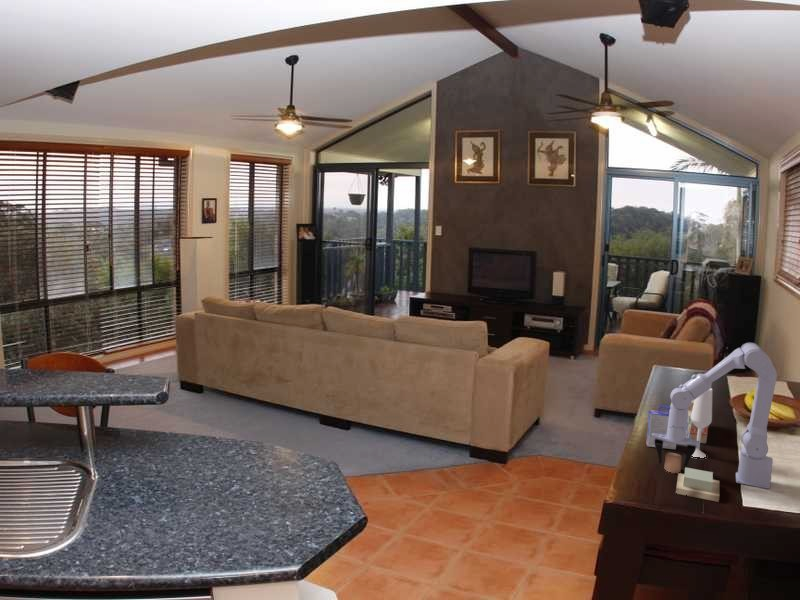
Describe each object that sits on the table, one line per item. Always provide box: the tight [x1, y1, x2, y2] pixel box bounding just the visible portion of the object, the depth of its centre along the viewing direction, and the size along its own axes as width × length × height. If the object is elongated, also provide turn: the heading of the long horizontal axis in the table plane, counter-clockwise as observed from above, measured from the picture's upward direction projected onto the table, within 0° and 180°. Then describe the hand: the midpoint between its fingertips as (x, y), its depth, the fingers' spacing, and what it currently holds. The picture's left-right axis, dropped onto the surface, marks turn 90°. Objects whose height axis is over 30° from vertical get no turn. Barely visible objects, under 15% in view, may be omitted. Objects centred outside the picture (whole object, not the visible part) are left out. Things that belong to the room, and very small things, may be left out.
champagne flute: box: [691, 387, 713, 458], centre depth 249 cm, size 7×7×24 cm
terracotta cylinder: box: [663, 452, 683, 474], centre depth 237 cm, size 5×5×5 cm
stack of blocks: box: [686, 400, 710, 444], centre depth 271 cm, size 21×6×12 cm, turn 172°
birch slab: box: [675, 472, 720, 503], centre depth 223 cm, size 12×12×2 cm
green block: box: [683, 467, 714, 492], centre depth 223 cm, size 8×8×3 cm
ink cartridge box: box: [645, 404, 677, 450], centre depth 257 cm, size 10×6×14 cm, turn 79°
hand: (672, 464), depth 237 cm, fingers open, 7 cm apart
